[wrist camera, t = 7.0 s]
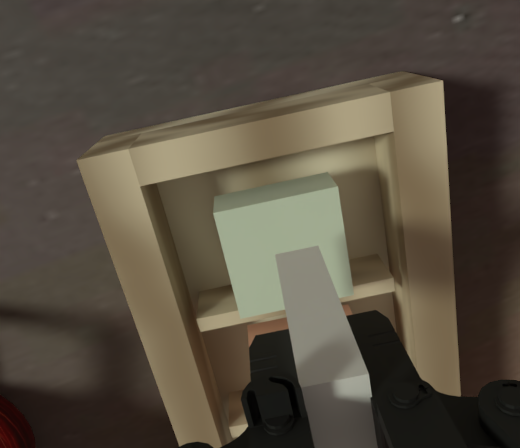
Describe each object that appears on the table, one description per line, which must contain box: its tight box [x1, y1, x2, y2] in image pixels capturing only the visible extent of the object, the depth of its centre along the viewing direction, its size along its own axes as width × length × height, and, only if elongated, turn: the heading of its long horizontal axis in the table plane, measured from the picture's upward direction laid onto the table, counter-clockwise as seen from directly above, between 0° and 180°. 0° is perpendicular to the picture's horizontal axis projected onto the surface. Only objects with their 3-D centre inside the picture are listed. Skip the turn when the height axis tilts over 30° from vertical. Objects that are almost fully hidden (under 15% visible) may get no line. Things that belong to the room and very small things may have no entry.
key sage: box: [213, 172, 354, 319], centre depth 20 cm, size 5×5×2 cm
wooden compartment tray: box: [77, 71, 461, 448], centre depth 26 cm, size 14×30×4 cm, turn 12°
